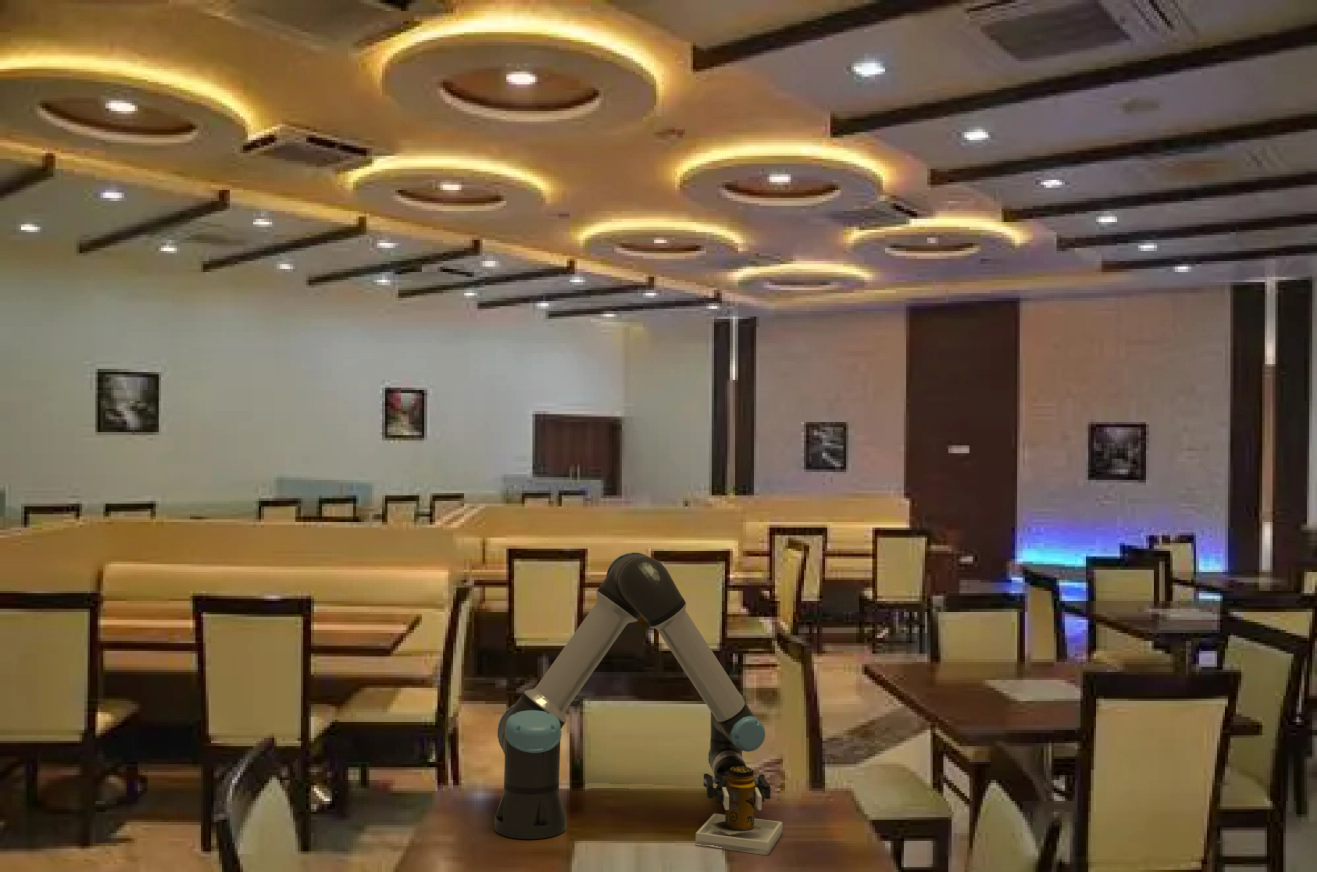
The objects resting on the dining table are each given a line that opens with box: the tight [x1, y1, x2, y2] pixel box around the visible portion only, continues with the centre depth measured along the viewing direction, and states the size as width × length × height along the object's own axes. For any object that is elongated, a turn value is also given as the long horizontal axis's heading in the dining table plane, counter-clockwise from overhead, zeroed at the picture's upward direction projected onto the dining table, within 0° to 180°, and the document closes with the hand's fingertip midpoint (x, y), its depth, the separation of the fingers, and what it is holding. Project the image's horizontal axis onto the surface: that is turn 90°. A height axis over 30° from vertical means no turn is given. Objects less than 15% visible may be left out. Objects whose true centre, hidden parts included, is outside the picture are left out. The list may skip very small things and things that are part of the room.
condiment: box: [710, 766, 763, 835], centre depth 229 cm, size 7×8×12 cm
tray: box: [695, 813, 783, 856], centre depth 229 cm, size 15×14×2 cm
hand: (743, 803), depth 224 cm, fingers closed on condiment, 6 cm apart
